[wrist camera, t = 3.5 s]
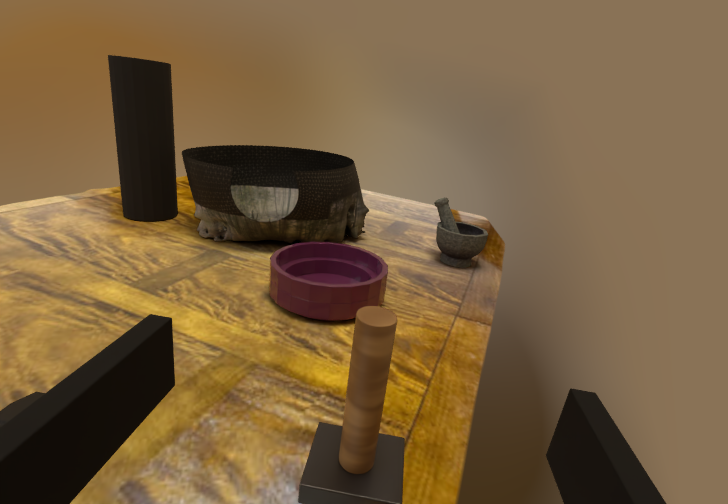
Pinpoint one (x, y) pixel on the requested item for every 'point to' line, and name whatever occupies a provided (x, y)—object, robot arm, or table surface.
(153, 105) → the vase
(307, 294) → the bowl
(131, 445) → the table surface
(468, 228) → the mortar and pestle
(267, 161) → the basket
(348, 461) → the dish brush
